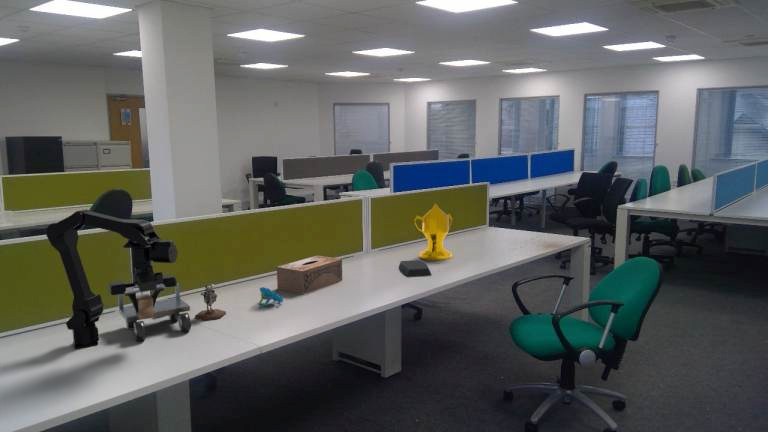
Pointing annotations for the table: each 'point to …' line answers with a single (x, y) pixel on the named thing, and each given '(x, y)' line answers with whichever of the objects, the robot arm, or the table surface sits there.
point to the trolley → (157, 313)
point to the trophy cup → (435, 233)
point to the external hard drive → (414, 268)
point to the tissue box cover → (309, 274)
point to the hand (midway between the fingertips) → (144, 311)
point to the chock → (145, 306)
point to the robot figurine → (209, 300)
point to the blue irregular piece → (269, 296)
